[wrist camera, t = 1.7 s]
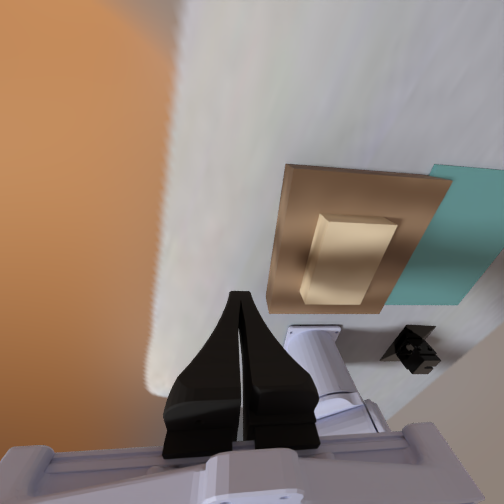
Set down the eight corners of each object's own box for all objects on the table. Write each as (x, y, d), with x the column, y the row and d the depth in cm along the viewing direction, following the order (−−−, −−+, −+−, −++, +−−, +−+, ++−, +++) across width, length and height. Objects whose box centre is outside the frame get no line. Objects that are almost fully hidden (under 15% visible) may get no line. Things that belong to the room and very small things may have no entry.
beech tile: (350, 291, 23) (360, 304, 21) (299, 291, 22) (305, 304, 20) (382, 216, 18) (397, 225, 17) (319, 213, 18) (328, 221, 16)
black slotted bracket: (404, 362, 38) (423, 388, 34) (369, 361, 37) (385, 389, 33) (443, 316, 32) (473, 342, 28) (402, 314, 31) (427, 341, 27)
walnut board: (365, 297, 28) (379, 313, 25) (265, 296, 26) (269, 313, 24) (424, 174, 20) (453, 180, 17) (285, 163, 18) (293, 168, 16)
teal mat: (455, 303, 30) (457, 305, 29) (366, 302, 28) (368, 304, 28) (556, 174, 21) (562, 175, 20) (434, 164, 19) (438, 164, 19)
